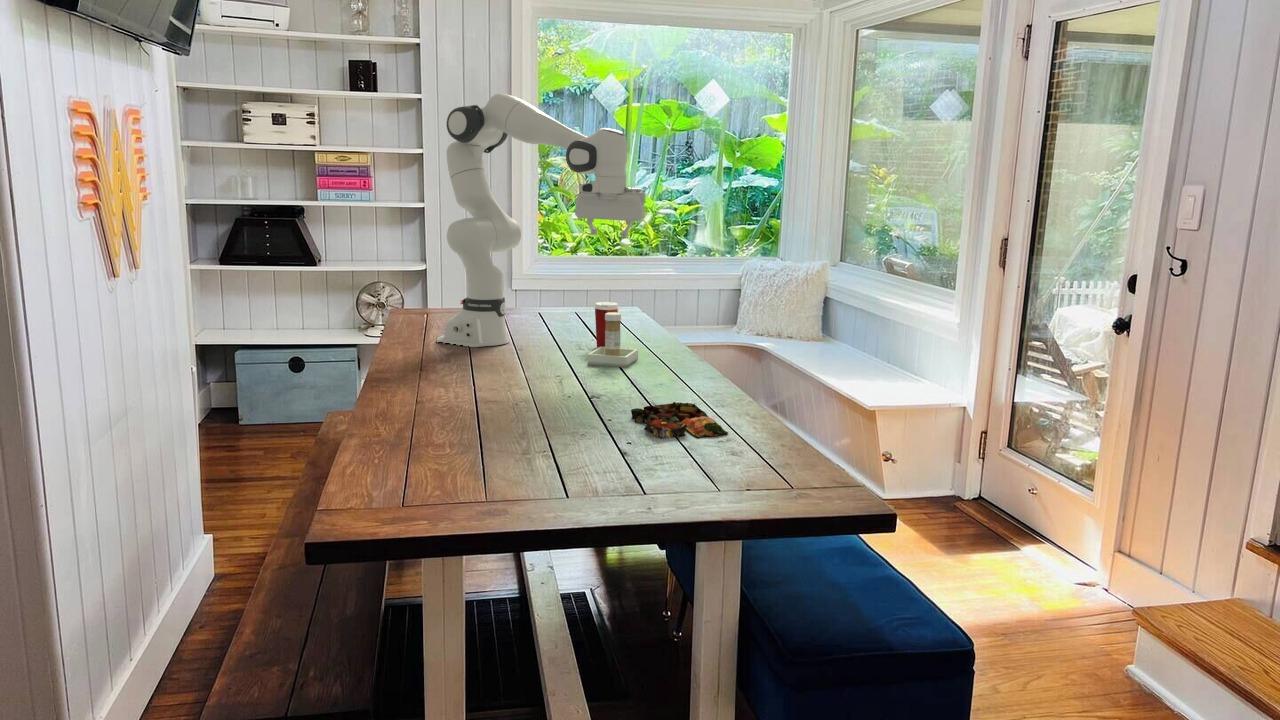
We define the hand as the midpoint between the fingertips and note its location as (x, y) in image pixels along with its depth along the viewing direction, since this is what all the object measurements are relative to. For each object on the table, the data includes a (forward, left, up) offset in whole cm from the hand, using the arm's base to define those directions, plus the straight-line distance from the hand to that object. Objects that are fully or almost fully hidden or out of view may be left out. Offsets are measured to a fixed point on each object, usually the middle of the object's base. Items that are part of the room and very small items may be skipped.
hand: (609, 235), depth 266 cm
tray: (+4, -6, -36) cm, 36 cm away
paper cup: (-4, +12, -36) cm, 38 cm away
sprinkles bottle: (+4, -6, -35) cm, 36 cm away
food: (+36, -63, -37) cm, 81 cm away
